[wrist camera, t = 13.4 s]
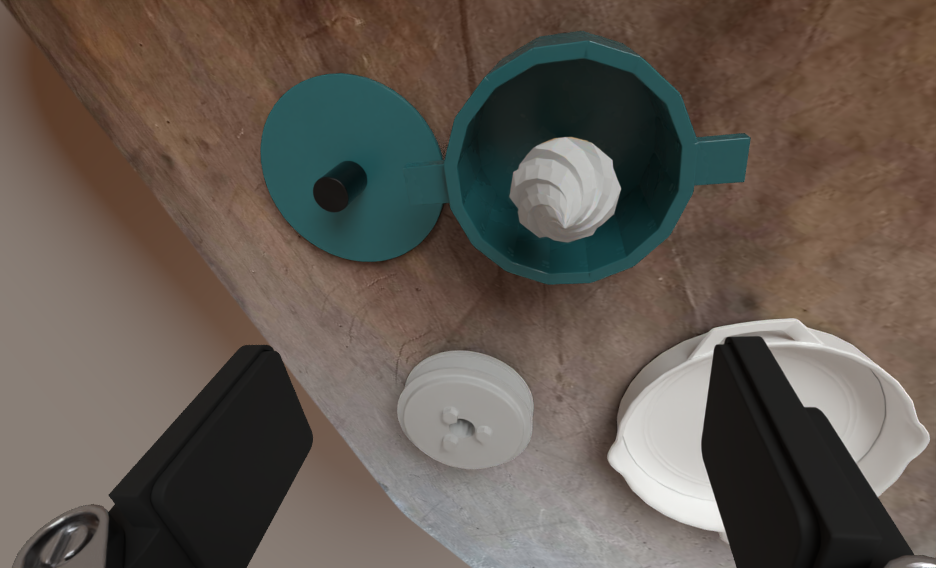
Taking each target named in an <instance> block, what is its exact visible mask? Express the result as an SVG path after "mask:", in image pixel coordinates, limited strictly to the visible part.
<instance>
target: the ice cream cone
mask: <svg viewBox="0 0 936 568" xmlns="http://www.w3.org/2000/svg"><path fill="white" fill-rule="evenodd" d="M620 191H621V187H620V185H619V182H618V179H617V177H616V174H615V172H614V169H613V160H612V159H610V158H609V157H608V156H607V155H606V154H605V153H603V152H602V151H601V150H600V149H599V148H597V147H596V146H595V145H594V144H593V143H591V142H588V141H586V140H582V139H578V138H574V137H563V138H554V139H551V140H549V141H546V142H544V143H541V144H539V145H537V146H536V147H534V148H533V149H532V150H531V151H530V152H529V153H528V154H527V155H526V157H525V158H524V160H523V161H522V162H521V163H520V165H519V168H518V170H516V171H514V172H513V178H512V184H511V190H510V196H509V197H510V199H511V200H512V201H513V203H514V204H515V205H516V207H517V208H518V209H519V210H518V216H519V221H520V223H521V224H522V225H523V226H525V227H526V228H527V229H528V230H530V231H531V232H532V233H534V234H535V235H536V236H538V237H539V238H542V237H549V238H551V239H552V240H555V241H561V242H567V243H568V242H571V241H575V240H578V239H581V238H584V237H587V236H591V235H593V234H594V232H595V230H596V229H597V227H599V226H601V225H602V224H603V223H604V222H606V221H607V220H608V219H609V218H610V217H611V216H612V215H613V214H614V212H615V209H616V205H617V202H618V198H619V195H620Z"/></svg>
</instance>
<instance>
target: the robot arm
mask: <svg viewBox="0 0 936 568" xmlns="http://www.w3.org/2000/svg"><path fill="white" fill-rule="evenodd" d="M312 442H313V435H312V431H311V429H310V426H309V424H308V422H307V419H306V417H305V415H304V412H303V409H302V407H301V405H300V402H299V400H298V397H297V395H296V392H295V390H294V388H293V385H292V383H291V381H290V378H289V376H288V373H287V371H286V368H285V366H284V363H283V361H282V359H281V356H280V354H279V353H278V352H277V351H274V350H273V348H272V347H271V346H269V345H245V346H242V347H241V348H239V349H238V351H237V352H236V353H235V354H234V355H233V356H232V357H231V358H230V359H229V361H228V362H227V363H226V364H225V365H224V366H223V367H222V368H221V370H220V371H219V372H218V373H217V374H216V375H215V376H214V377H213V378H212V380H211V381H210V382H209V383H208V384H207V385H206V386H205V387H204V389H203V390H202V391H201V392H200V393H199V394H198V395H197V397H196V398H195V399H194V400H193V401H192V402H191V403H190V404H189V405H188V406H187V408H186V409H185V410H184V411H183V412H182V413H181V415H179V417H178V418H177V419H176V420H175V421H174V422H173V423H172V424H171V426H170V427H169V428H168V429H167V430H166V431H165V432H164V433H163V435H162V436H161V437H160V438H159V439H158V440H157V441H156V443H154V445H153V446H152V447H151V448H150V449H149V450H148V451H147V453H146V454H145V455H144V456H143V457H142V458H141V459H140V460H139V461H138V463H137V464H136V465H135V466H134V467H133V468H132V469H131V470H130V472H129V473H128V474H127V475H126V476H125V477H124V478H123V479H122V481H121V482H120V483H119V484H118V485H117V486H116V487H115V488H114V489H113V491H112V492H111V493H110V494H109V497H110V498H111V499H112V500H113V502H114V503H115V505H114V506H113V507H112V509H111V510H110V511H109V512H108V511H107V510H106V509H105V508H104V507H103V506H100V505H94V504H91V505H85V506H80V507H78V508H75V509H72V510H69V511H67V512H65V513H63V514H61V515H60V516H58V517H56V518H54V519H53V520H51V521H50V522H48V523H47V524H46V525H44V526H43V527H42V528H40V529H39V530H38V531H37V532H36V533H35V534H34V535H33V536H32V537H31V538H30V539H29V540H28V541H27V542H26V543H25V544H24V546H23V547H22V548H21V550H20V551H19V552H18V554H17V556H16V559H15V561H14V563H13V566H12V568H247V566H248V564H249V562H250V560H251V559H252V557H253V555H254V553H255V551H256V549H257V547H258V546H259V544H260V542H261V540H262V538H263V536H264V534H265V533H266V530H267V529H268V527H269V525H270V523H271V521H272V519H273V518H274V516H275V514H276V512H277V510H278V508H279V506H280V505H281V503H282V501H283V499H284V497H285V496H286V494H287V492H288V490H289V488H290V486H291V484H292V482H293V481H294V479H295V477H296V475H297V473H298V471H299V469H300V468H301V466H302V464H303V462H304V460H305V458H306V457H307V455H308V453H309V451H310V449H311V447H312ZM701 451H702V458H703V462H704V465H705V468H706V471H707V474H708V478H709V481H710V484H711V487H712V490H713V493H714V497H715V500H716V503H717V506H718V509H719V513H720V516H721V519H722V522H723V525H724V529H725V532H726V535H727V538H728V541H729V545H730V548H731V551H732V554H733V557H734V561H735V564H736V567H737V568H936V558H932V557H928V556H924V555H914V553H913V552H912V550H911V549H910V547H909V546H908V544H907V542H906V541H905V539H904V538H903V536H902V535H901V533H900V531H899V530H898V528H897V527H896V525H895V524H894V522H893V520H892V519H891V517H890V516H889V514H888V513H887V511H886V509H885V508H884V506H883V505H882V503H881V502H880V500H879V498H878V497H877V495H876V494H875V492H874V491H873V489H872V487H871V486H870V484H869V483H868V481H867V480H866V478H865V476H864V475H863V473H862V472H861V470H860V469H859V467H858V465H857V464H856V462H855V461H854V459H853V458H852V456H851V454H850V453H849V451H848V450H847V448H846V447H845V445H844V443H843V442H842V440H841V439H840V437H839V436H838V434H837V432H836V431H835V429H834V428H833V426H832V425H831V423H830V422H829V420H828V418H827V417H826V416H825V415H824V413H823V412H822V411H821V410H819V409H818V408H816V407H804V406H803V404H802V403H801V401H800V399H799V398H798V396H797V394H796V393H795V391H794V389H793V388H792V386H791V384H790V383H789V381H788V379H787V378H786V376H785V374H784V372H783V371H782V369H781V367H780V366H779V364H778V362H777V361H776V359H775V357H774V356H773V354H772V352H771V351H770V349H769V347H768V346H767V344H766V342H765V341H764V339H763V338H762V337H760V336H738V337H727V338H726V339H725V342H724V344H717V345H715V347H714V352H713V359H712V367H711V374H710V381H709V388H708V396H707V403H706V410H705V417H704V425H703V432H702V439H701Z"/></svg>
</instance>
